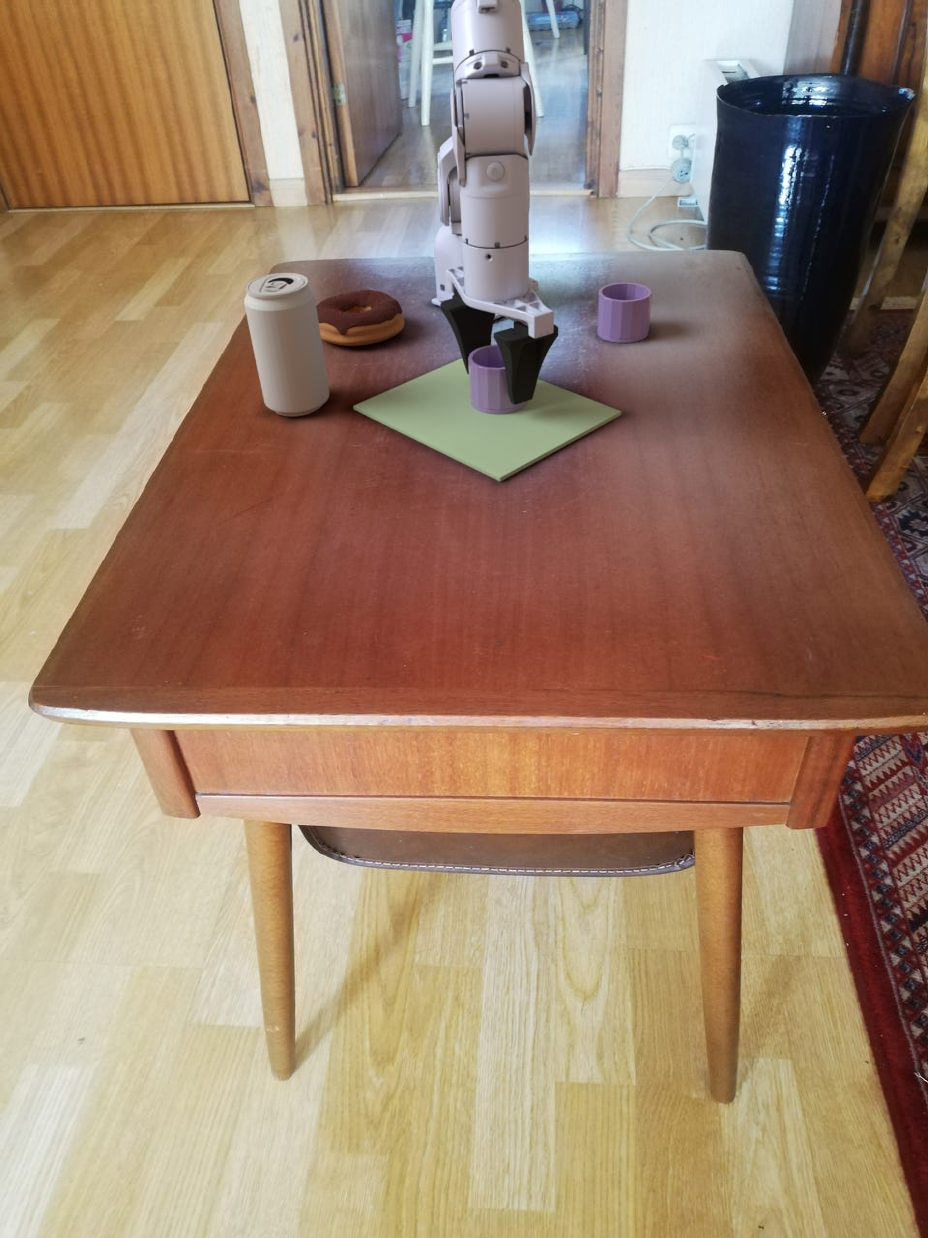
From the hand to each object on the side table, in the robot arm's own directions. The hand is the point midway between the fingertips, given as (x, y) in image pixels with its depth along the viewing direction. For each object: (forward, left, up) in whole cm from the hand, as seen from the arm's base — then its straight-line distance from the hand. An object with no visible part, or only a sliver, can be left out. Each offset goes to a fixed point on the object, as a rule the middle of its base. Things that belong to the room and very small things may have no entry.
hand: (499, 386), depth 88 cm
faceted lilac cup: (-2, +21, -2) cm, 21 cm away
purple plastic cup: (0, 0, -2) cm, 2 cm away
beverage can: (-15, -13, -2) cm, 20 cm away
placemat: (0, -2, -2) cm, 3 cm away
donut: (-24, +2, -2) cm, 24 cm away
